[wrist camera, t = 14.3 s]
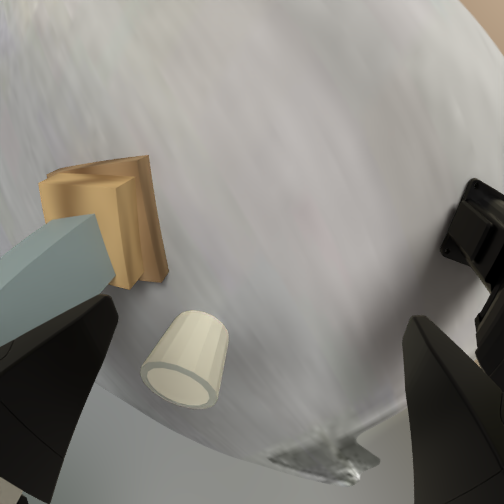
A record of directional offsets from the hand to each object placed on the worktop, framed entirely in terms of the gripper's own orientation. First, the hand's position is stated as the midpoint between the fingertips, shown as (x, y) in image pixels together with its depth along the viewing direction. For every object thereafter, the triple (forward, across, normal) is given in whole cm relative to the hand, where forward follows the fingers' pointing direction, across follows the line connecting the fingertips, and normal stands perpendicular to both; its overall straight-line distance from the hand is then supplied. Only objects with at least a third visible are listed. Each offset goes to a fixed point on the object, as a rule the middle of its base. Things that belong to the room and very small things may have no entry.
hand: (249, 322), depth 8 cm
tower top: (+11, +15, +2) cm, 19 cm away
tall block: (+9, +15, +3) cm, 17 cm away
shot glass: (+13, +8, +14) cm, 21 cm away
